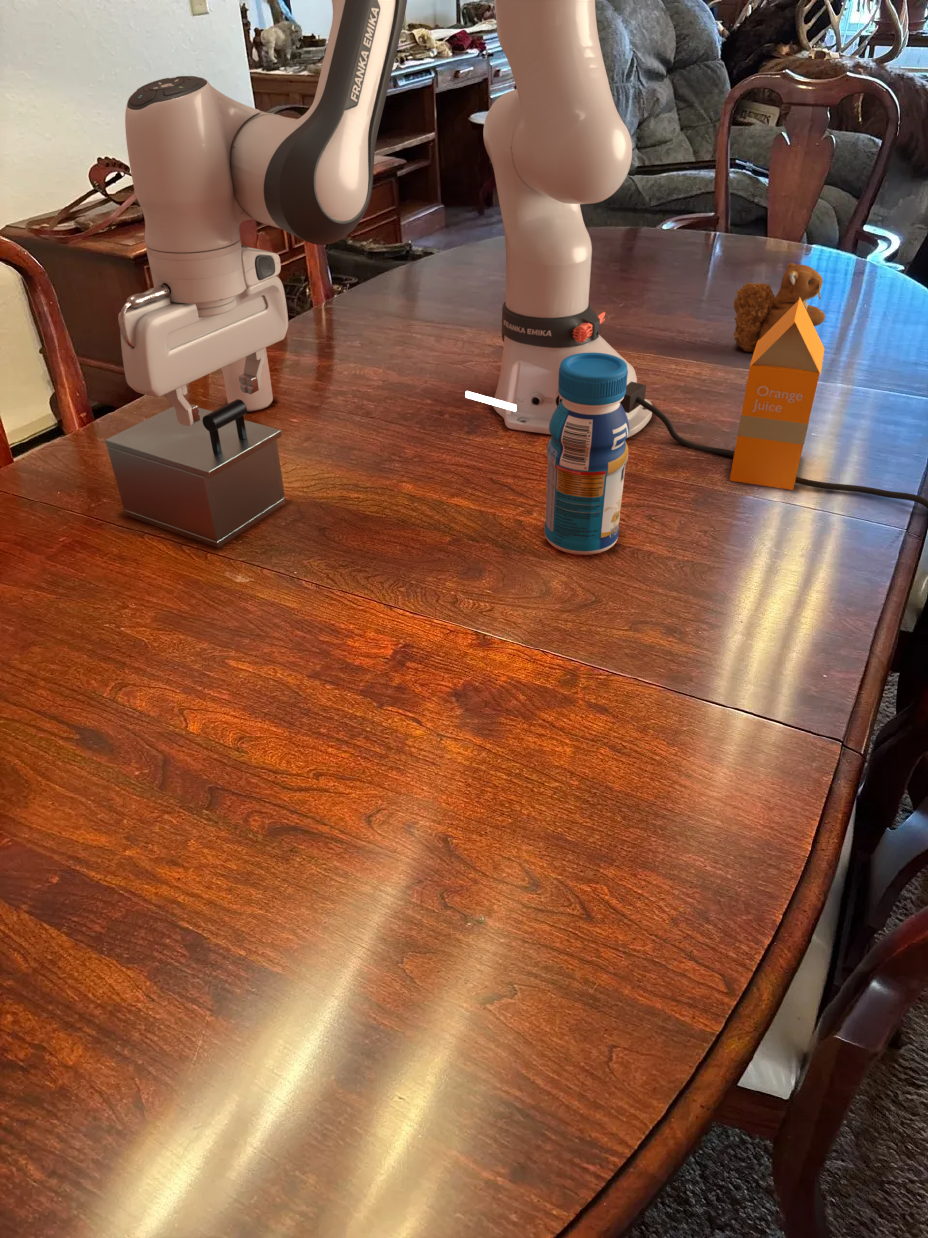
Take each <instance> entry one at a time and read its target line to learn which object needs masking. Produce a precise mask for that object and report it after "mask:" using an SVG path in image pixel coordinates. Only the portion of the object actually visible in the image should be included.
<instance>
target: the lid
mask: <svg viewBox="0 0 928 1238" xmlns="http://www.w3.org/2000/svg"><path fill="white" fill-rule="evenodd" d="M198 409H199V413H198V415H199V416H200V420H199V421H198V422H196V423H194V424H192V425H190V426H186V425H182V424H180V423H179V422H178V420H177V415H176V410H175V407H173V406H171V407H169V408H166V409H165V410H163V411H161V412H158V413H157V414H155V415H153V416H150V417H149V418H147V419H144V420H142V421H141V422H139V423H136V424H134V425H132V426H131V427H128V428H126V429H124V430H122V431H120V432H118V433H116V434H114V435H112V436H110V437H108V438H106V439H104V440H105V444H106V447H112V448H115V449H118V450H121V451H124V452H127V453H131V454H134V455H137V456H140V457H143V458H147V459H150V460H153V461H156V462H159V463H163V464H166V465H169V466H172V467H175V468H178V469H182V470H185V471H188V472H191V473H194V474H198V475H201V476H204V477H207V478H212V477H213V476H215V475H217V474H218V473H220V472H222V471H223V470H225V469H227V468H229V467H230V466H232V465H234V464H235V463H237V462H239V461H240V460H242V459H244V458H246V457H247V456H249V455H251V454H252V453H254V452H256V451H257V450H259V449H261V448H263V447H264V446H266V445H268V444H269V443H271V442H273V441H274V440H278V439H279V438H281V437H283V434H282V430H281V429H279V428H275V427H271V426H268V425H264V424H261V423H257V422H253V421H249V420H246V419H245V417H244V416H245V415H246V414H247V413H248V412H247V407H246V405H245V403H244V402H243V401H242V400H240V399H236V400H234V401H232V402H230V403H229V404H228V403H227V404H224V405H223V406H221V407H219V408H217V409H215V410H213V411H212V410H209V409H206V408H201V407H198Z"/></svg>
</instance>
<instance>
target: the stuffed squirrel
mask: <svg viewBox="0 0 928 1238" xmlns="http://www.w3.org/2000/svg"><path fill="white" fill-rule="evenodd" d="M823 279H824V278H823V277H822V274H820V273H819V272H818V271H816V270H815V269H814V268H813V267H811V266H809V265H807V264H796V263H793V262H790V263H788V265H787V267H786V271H784V274H783V276H782V279H781V283H780V288H779V289H778V292H777V294H776V295H775V294H774V292H773V290H772V288H771V285H770V284H767V283H764V282H760V283H758V282H756V283H753V282H749V283H748V282H747V283H744V284H743V286H742V288H740V289H737V290H736V295H737V296H736V297H735V298H734V301H733V308H734V312H735V313H736V317H734V321H735V328H734V331H735V332H733V338H734V340H735V341H736V345H738V346H739V348H741V349H742V350H743V351H744V352H748V353H749V352H750V353H754V350H755V347H756V344H757V342H758V340H760V339H761V338H762V337H763V336H764V335H765V334H766V333H767V332H768V331H769V330H770V329H771V328H772V327H773V326H774V325H775V324H776V323H777V322H778V321H779V320H780V319H781V317H782V316H783V315H784V314H785V313H786V312H787V311H788V310H789V309H790V308H791V307H792V306H793V305H794V304H795V303H796V302H797V301H798V300H799V298H801V300H802V302H803V305H804V307H805V309H806V311H807V313H808V315H809V317H810V319H811V321H812V323H813V325H814V327H818V326H819V325H821V324H823V323H824V321H825V319H826V314H825V313H824V311H823V310H821V309H820V308H819V307H818V306H813V305H810V304H809V303H808V301H809V300H811V299H813V298H815V297H818V300H821V299H822V297H821V290H822V286H823Z"/></svg>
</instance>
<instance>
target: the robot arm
mask: <svg viewBox="0 0 928 1238" xmlns="http://www.w3.org/2000/svg"><path fill="white" fill-rule="evenodd" d="M407 3H408V0H331V6H332V20H331V26H330V30H329V34H328V39H327V44H326V48H325V53H324V56H323V61H322V65H321V70H320V74H319V78H318V81H317V82H318V83H317V85H316V86H317V87H316V91H315V95H314V99H313V102H312V104H311V105H310V107H309V109H308V110H307V111H306V112H305V113H304V114H303V115H301V116H300V117H299V118H293V117H286V116H283V115H280V114H277V113H271V112H266V111H263V110H260V109H257V108H255V107H251V106H249V105H246V104H244V103H241V102H239V101H237V100H235V99H233V98H231V97H229V96H227V95H226V94H224V93H222V92H220V91H219V90H218V89H216V88H215V87H213V86H212V85H211V83H210V82H209V81H208V80H207V79H205V78H203V77H199V76H195V75H178V76H176V77H175V76H174V77H164V78H161V79H157V80H154V81H151V82H149V83H146V84H144V85H142V86H140V87H138V88H137V89H136V91H134V92H132V94H131V95H130V96H129V98H128V99H127V102H126V106H125V112H124V113H125V115H124V128H125V140H126V149H127V156H128V162H129V163H128V164H129V169H130V174H131V180H132V185H133V189H134V190H133V191H134V195H135V198H136V200H137V202H138V204H139V206H140V208H141V211H142V214H143V217H144V227H145V228H144V237H143V239H144V244H145V250H146V255H147V259H148V260H147V261H148V265H149V270H150V275H151V280H152V284H153V287H152V288H150V289H147V290H146V291H144V292H141V293H135V294H132V295H130V296H129V297H127V298H126V303H125V304H124V305H123V306H122V308H121V310H120V312H118V319H117V320H118V326H119V330H120V345H121V356H122V364H123V370H124V377H125V381H126V384H127V385H128V386H129V387H130V388H131V389H132V390H133V391H135V392H136V393H138V394H142V395H145V396H149V397H153V398H159V397H164V398H165V399H166V400H167V401H168V402H169V404H170V405H171V407H175V410H176V415H177V420H178V422H179V423H180V424H182V425H186V426H190V425H192V424H194V423H196V422H198V421H199V420H200V416H199V415H198V413H199V409H198V408H199V405H198V404H197V405H196V404H192V403H190V402H189V401H188V400H187V399H186V398H185V395H187V394H188V388H187V385H189V384H190V383H193V382H195V381H197V380H199V379H201V378H203V377H206V376H207V375H209V374H212V373H214V372H216V371H219V370H221V369H222V368H223V367H225V366H227V365H229V364H231V363H233V362H236V361H238V360H240V359H242V358H244V357H246V360H245V366H244V373H243V374H242V375H240V376H239V382H240V383H241V385H240V388H241V390H242V392H244V393H248V394H253V393H255V392H257V391H259V390H260V389H261V380H260V375H261V371H262V368H263V364H264V361H265V349H264V348H266V349H267V347H270V346H272V345H275V344H276V343H279V342H281V341H283V340H284V339H285V338H286V335H287V331H288V329H289V315H288V305H287V299H286V293H285V288H284V285H283V282H282V280H281V279H280V277H278V276H279V274H280V273H281V269H282V266H281V258H280V256H279V254H278V253H276V252H273V251H269V250H264V249H260V248H255V247H249V246H247V245H244V244H242V240H241V233H240V226H241V224H242V223H243V222H246V221H251V220H254V221H256V222H258V223H260V224H264V225H267V226H270V227H274V228H276V229H280V230H282V231H284V232H286V233H288V234H290V235H292V236H293V237H296V238H298V239H300V240H303V241H304V242H307V243H309V244H312V245H316V246H317V245H318V246H327V245H332V244H334V243H338V242H339V241H341V240H343V239H344V238H346V237H348V235H349V234H351V233H352V232H353V231H354V230H355V229H356V228H357V226H358V225H359V224H360V222H361V221H362V219H363V218H364V216H365V214H366V212H367V209H368V208H369V204H370V202H371V197H372V192H373V185H374V170H375V156H376V155H375V154H376V146H377V139H378V133H379V129H380V124H381V120H382V116H383V111H384V107H385V102H386V99H387V94H388V90H389V86H390V82H391V77H392V74H393V69H394V64H395V61H396V58H397V57H396V56H397V52H398V49H399V43H400V39H401V35H402V30H403V25H404V21H405V15H406V12H407V11H406V10H407ZM493 3H494V13H495V22H496V23H495V24H496V35H497V40H498V43H499V46H500V48H501V50H502V51H503V54H504V55H505V57H506V60H507V62H508V65H509V68H510V70H511V74H512V77H513V81H514V84H515V87H516V88H515V89H512V90H510V91H507V92H504V93H503V94H502V95H500V96H499V97H498V98H497V99H496V100H495V101H494V102H493V103H492V105H491V106H490V108H489V110H488V111H487V114H486V116H485V120H484V124H483V131H482V132H483V133H482V135H483V136H482V137H483V144H484V147H485V150H486V153H487V155H488V157H489V160H490V162H491V165H492V168H493V173H494V179H495V185H496V192H497V197H498V203H499V209H500V215H501V222H502V225H503V226H502V227H503V233H504V244H505V246H504V247H505V301H504V302H503V304H502V309H501V314H502V315H501V340H502V343H503V347H502V356H501V357H502V358H501V366H500V372H499V376H498V382H497V386H496V390H495V393H494V397H491V396H486V395H483V394H479V393H476V392H472V391H469V390H466V391H465V398H466V399H469V400H473V401H477V402H479V403H480V402H481V403H484V404H487V405H491V406H492V408H493V409H494V411H495V412H496V413H497V414H498V415H499V416H500V417H502V418H503V420H504V425H505V427H506V428H508V429H510V430H515V431H516V430H517V431H523V432H528V433H529V432H530V433H538V434H545V435H551V434H550V431H549V424H550V420H551V418H552V415H553V413H554V411H555V410H556V408H557V406H558V405H559V404H560V402H561V401H562V399H561V397H560V395H559V391H558V381H559V368H560V364H561V362H562V360H563V359H565V358H566V357H568V356H571V355H574V354H579V353H604V354H609V355H613V356H616V357H618V358H620V359H622V360H623V361H624V362H625V363H626V364H627V370H628V376H627V386H626V393H625V396H624V398H623V400H622V401H621V402H620V403H621V405H622V407H623V409H624V411H625V413H626V415H627V418H628V422H629V435H628V437H627V438H626V439H628V438H631V437H632V436H634V435H636V434H638V433H639V432H640V431H641V430H642V429H643V428H645V427H646V425H647V424H649V422H650V421H651V419H652V417H653V414H654V416H656V417H657V418H658V419H659V420H661V422H662V423H663V424H664V426H665V427H666V429H667V431H668V433H669V435H670V436H671V437H672V439H673V440H674V441H675V442H677V443H679V444H680V445H682V446H684V447H685V448H690V449H691V450H696V451H700V452H704V453H708V454H712V455H719V456H725V457H730V458H734V453H735V450H731V449H726V448H720V447H719V448H718V447H712V446H705V445H701V444H696V443H693V442H691V441H689V440H686V439H685V438H684V437H682V436H681V435H680V434H678V433H677V432H676V430H675V428H674V426H673V424H672V422H671V421H670V419H669V418H668V417H667V415H665V414H664V413H663V412H662V411H661V410H660V409H658V408H657V407H655V406H654V405H653V403H652V402H651V400H650V399H648V398H646V390H647V384H643V383H639V382H638V377H637V374H636V370H635V368H634V367H633V365H631V363H629V362H628V360H626V359H625V358H624V357H623V356H622V355H620V353H618V351H617V350H616V349H615V348H614V347H613V346H611V345H610V343H608V342H607V341H606V340H605V338H603V336H601V335H600V329H601V328H600V327H601V324H602V323H604V322H605V319H606V318H605V315H606V312H605V311H603V312H602V313H600V314H597V313H596V312H595V311H594V309H593V308H592V306H591V304H590V302H589V299H590V286H591V272H592V271H591V270H592V256H593V255H592V254H593V246H592V240H591V236H590V234H589V232H588V229H587V227H586V225H585V222H584V218H583V213H582V209H581V205H590V204H591V205H592V204H597V203H601V202H604V201H605V200H607V199H608V198H610V197H611V196H613V195H614V194H615V193H616V192H617V191H618V190H619V189H620V187H621V186H622V185H623V183H624V182H625V179H626V178H627V176H628V173H629V172H630V168H631V166H632V165H631V164H632V161H633V144H632V138H631V135H630V132H629V130H628V128H627V126H626V124H625V123H624V121H623V119H622V118H621V116H620V114H619V112H618V110H617V106H616V104H615V101H614V97H613V94H612V91H611V87H610V86H611V85H610V83H609V78H608V75H607V70H606V66H605V62H604V57H603V52H602V48H601V43H600V38H599V37H600V36H599V33H598V23H597V14H596V12H597V11H596V0H493ZM795 484H798V485H802V486H805V487H810V488H816V489H823V490H829V491H830V490H831V491H839V492H840V491H843V492H851V493H852V492H854V493H861V494H867V495H873V496H878V497H881V498H882V497H884V498H887V499H888V498H889V499H897V500H905V501H911V502H914V503H917V504H920V505H922V506H923V507H925V508H926V509H928V499H927V498H926V497H923V496H921V495H918V494H914V493H909V492H901V491H892V490H886V489H881V488H876V487H870V486H863V485H855V484H846V483H834V482H825V481H817V480H812V479H807V478H805V477H799V476H797V475H796V480H795Z"/></svg>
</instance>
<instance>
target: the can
mask: <svg viewBox="0 0 928 1238" xmlns="http://www.w3.org/2000/svg"><path fill="white" fill-rule="evenodd" d="M264 349H265V361H264V364H263V368H262V371H261V375H260V380H261V389H260V390H259V391H257V392H255V393H253V394H248V393H244V392H242V390H241V388H240V385H241V383H240V382H239V376H240V375H242V374H243V373H244V366H245V360H246V357H244V358H242V359H240V360H238V361H236V362H233V363H231V364H229V365H227V366H225V367H223V368H221V373H222V378H223V383H224V391H225V394H226V395H225V396H226V400H227V404H229V403H230V402H232V401H234V400H236V399H240V400H242V401H243V402H244V403H245V405H246V407H247V413H250V412H251V413H252V412H257V411H261V410H264V409H266V408H268V407H270V406H271V404H272V402H273V400H274V396H273V388H272V387H273V386H272V380H271V373H270V366H269V360H268V352H267V347H266V348H264Z"/></svg>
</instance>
